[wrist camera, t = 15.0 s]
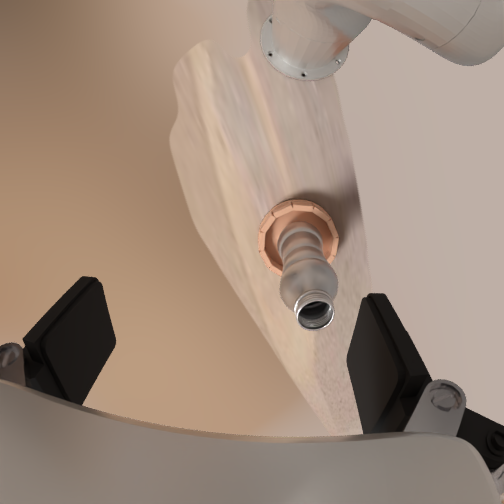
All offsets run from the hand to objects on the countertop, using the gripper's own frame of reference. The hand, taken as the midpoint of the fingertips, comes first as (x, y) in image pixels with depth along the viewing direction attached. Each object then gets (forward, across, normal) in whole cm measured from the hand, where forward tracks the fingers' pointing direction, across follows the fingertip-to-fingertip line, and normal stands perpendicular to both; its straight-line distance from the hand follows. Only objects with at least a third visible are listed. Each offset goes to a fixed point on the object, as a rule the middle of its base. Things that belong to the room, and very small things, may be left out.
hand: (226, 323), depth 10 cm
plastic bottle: (+35, -6, +10) cm, 37 cm away
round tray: (+36, -6, +10) cm, 38 cm away
